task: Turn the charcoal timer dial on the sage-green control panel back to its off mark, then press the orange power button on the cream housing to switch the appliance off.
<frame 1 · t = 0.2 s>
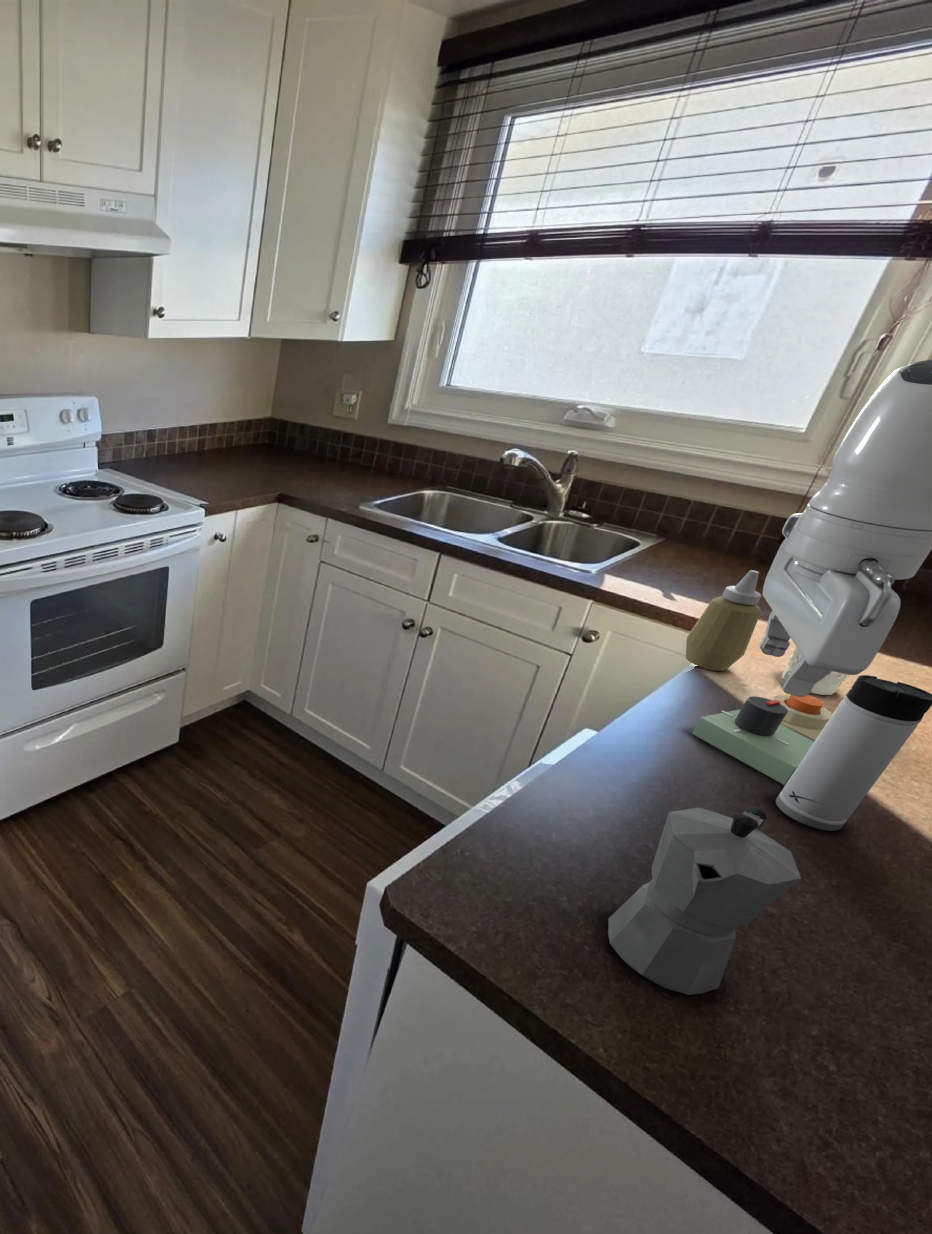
hand: (780, 671, 69), 24 cm above the worktop, tool pointing down, fingers open, 8 cm apart
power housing: (796, 731, 103), on the worktop
white cup: (806, 686, 116), on the worktop
power button: (804, 704, 102), point 4 cm above the worktop, slide at 0.1 cm
dial panel: (758, 752, 98), on the worktop
squeeze bottle: (704, 664, 122), on the worktop
timer dial: (761, 715, 97), point 5 cm above the worktop, hinge at -90.0°
travel mug: (806, 816, 86), on the worktop
coffeepot: (662, 949, 68), on the worktop
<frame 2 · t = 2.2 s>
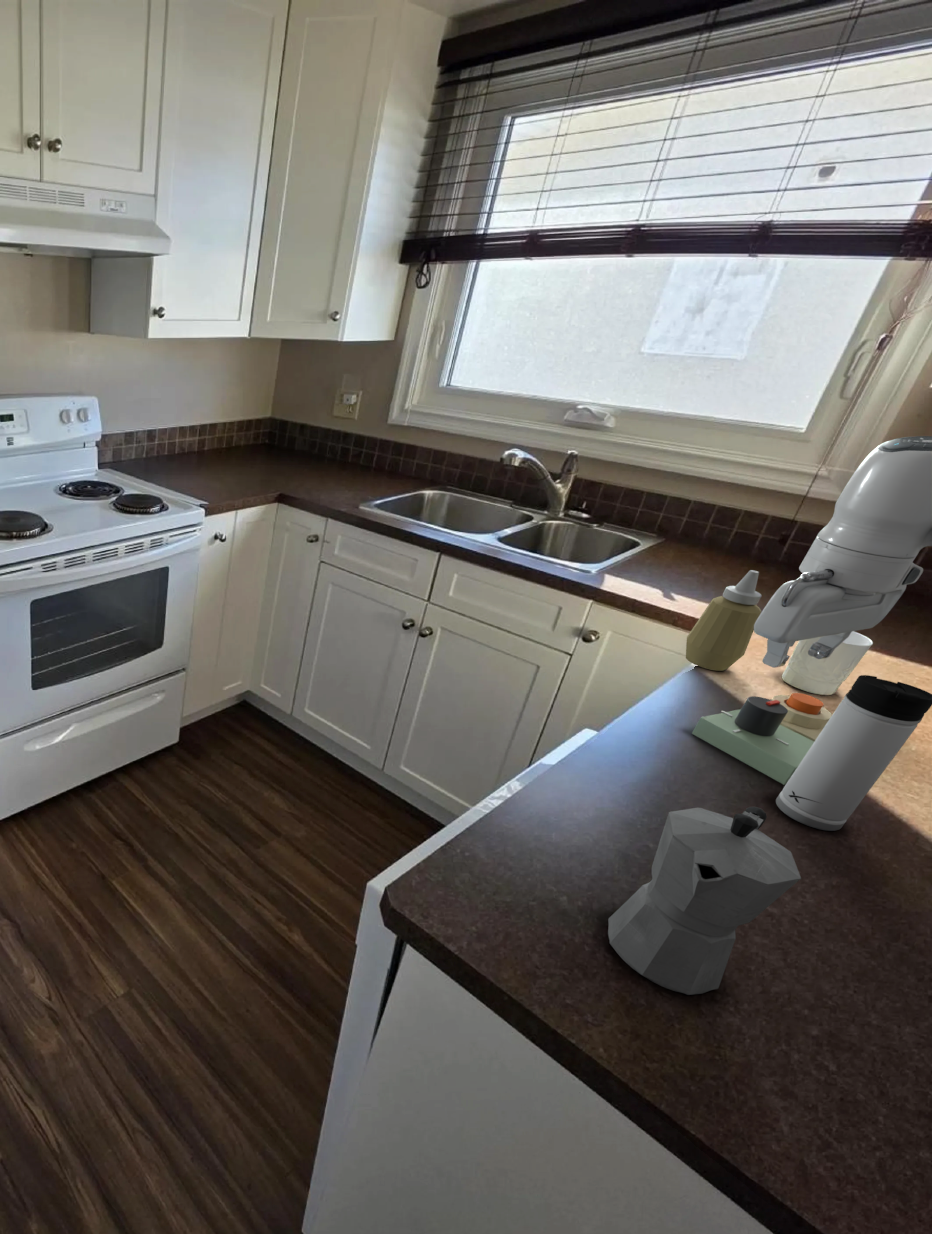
hand: (794, 660, 92), 15 cm above the worktop, tool pointing down, fingers open, 8 cm apart
nothing on the worktop moved.
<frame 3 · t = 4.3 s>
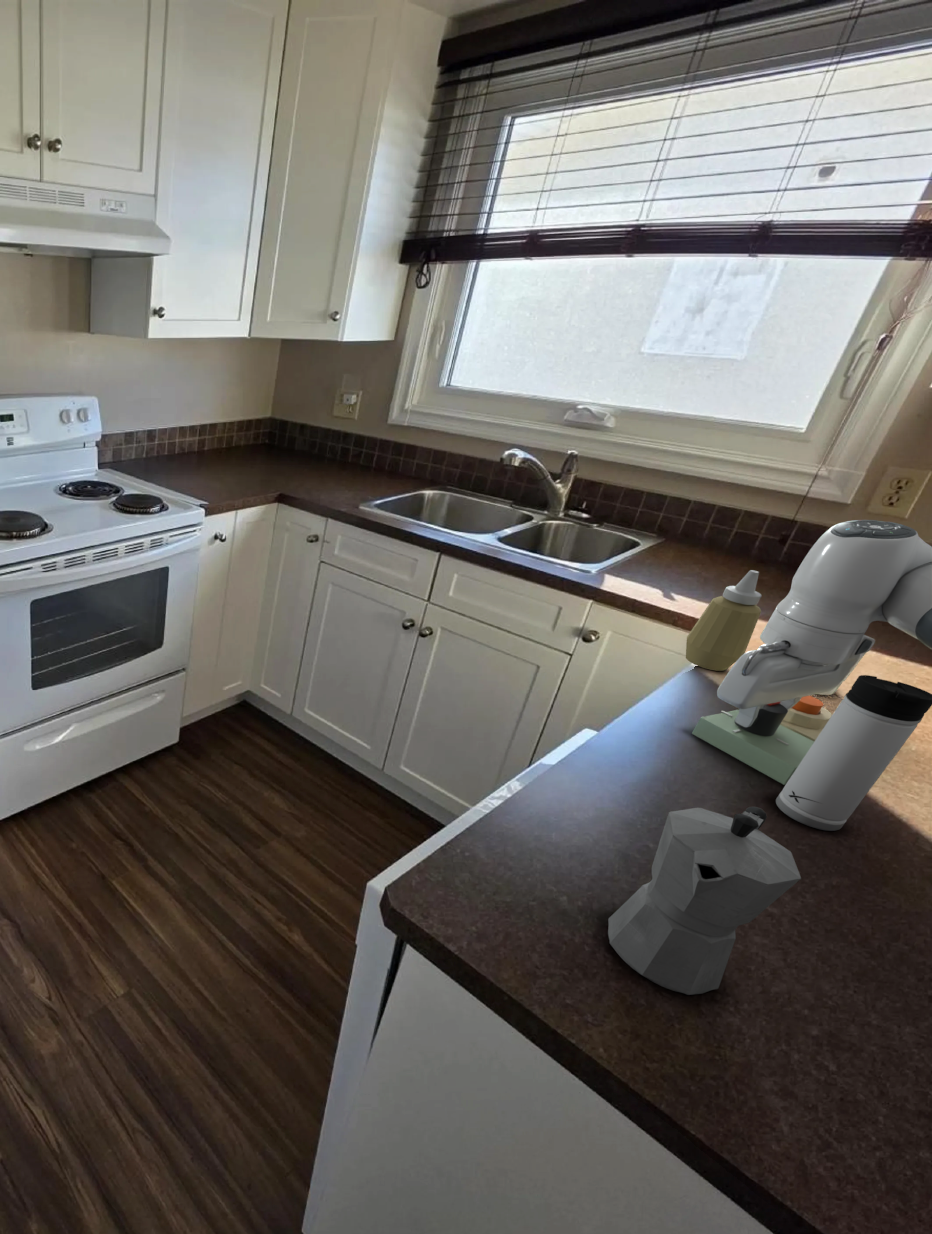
hand: (757, 721, 98), 4 cm above the worktop, tool pointing down, fingers closed on timer dial, 4 cm apart
timer dial: (761, 715, 97), point 5 cm above the worktop, hinge at -90.0°, touching gripper
everything else where it was.
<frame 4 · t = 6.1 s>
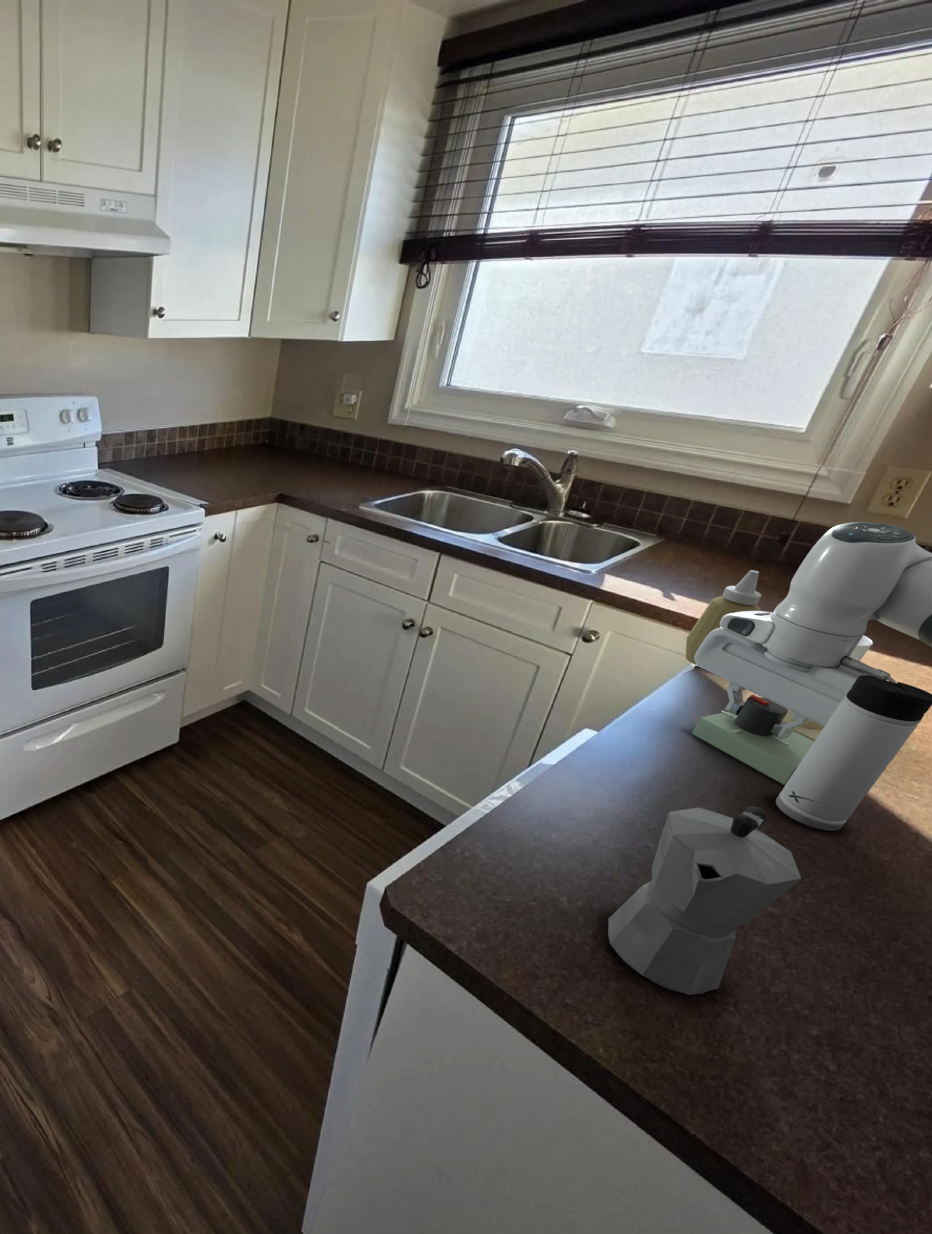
hand: (755, 723, 98), 4 cm above the worktop, tool pointing down, fingers closed on timer dial, 4 cm apart
timer dial: (761, 715, 97), point 5 cm above the worktop, hinge at -3.3°, touching gripper
everything else where it was.
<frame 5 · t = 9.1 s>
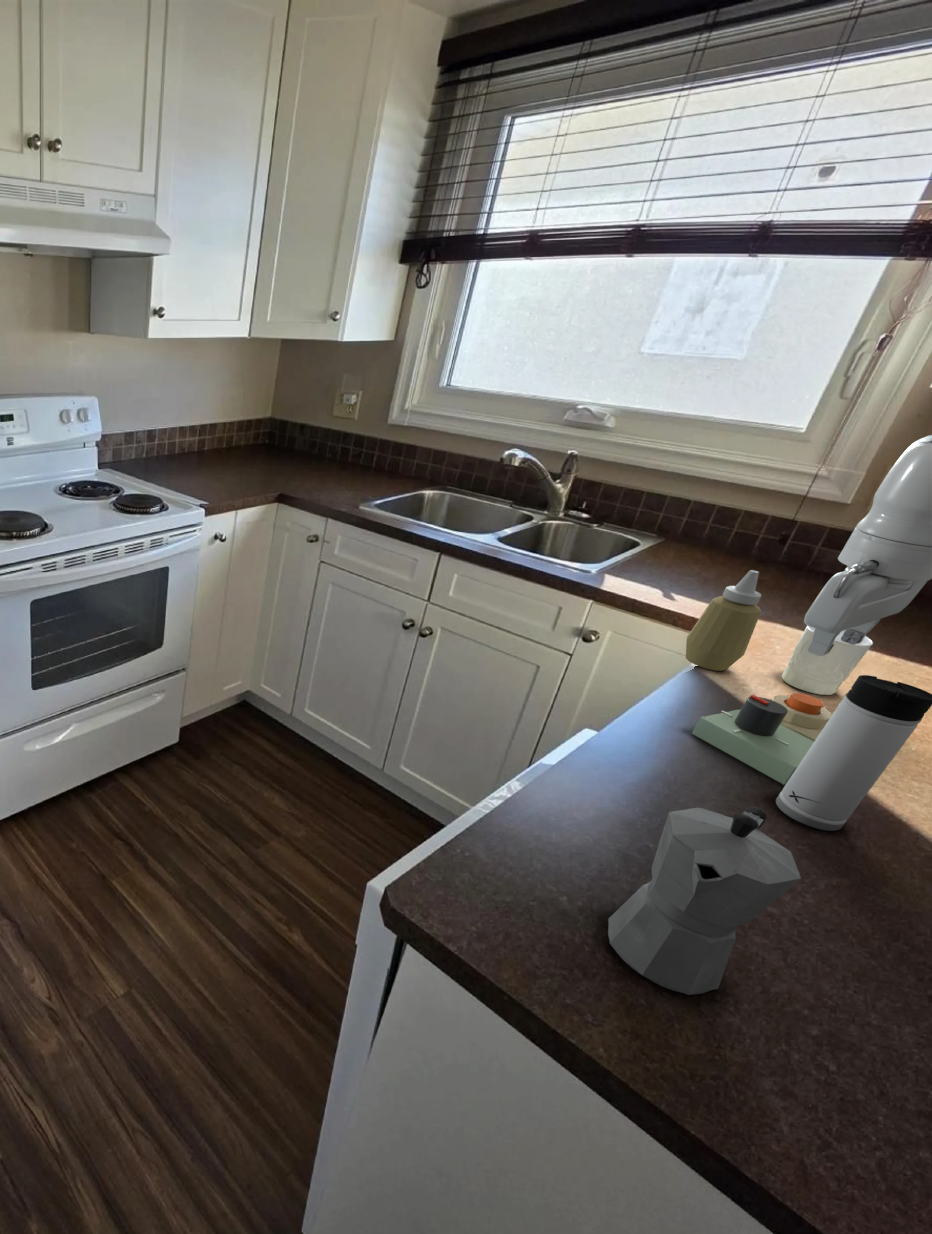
hand: (833, 647, 96), 15 cm above the worktop, tool pointing down, fingers open, 8 cm apart
timer dial: (761, 715, 97), point 5 cm above the worktop, hinge at -3.0°
everything else where it was.
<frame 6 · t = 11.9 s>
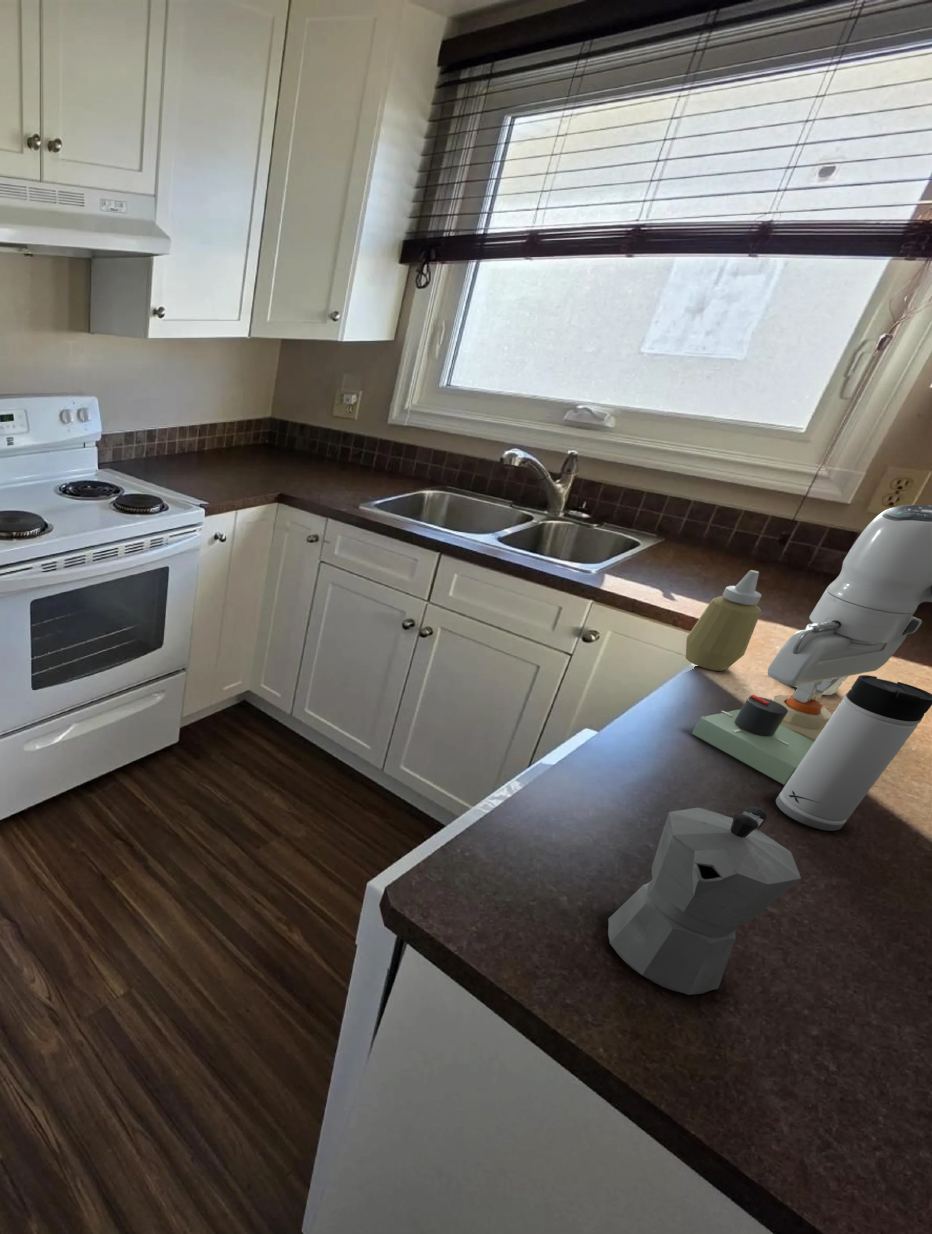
hand: (804, 699, 102), 5 cm above the worktop, tool pointing down, fingers closed, pressing on power button
power button: (803, 705, 102), point 4 cm above the worktop, slide at -0.2 cm, touching gripper
everything else where it was.
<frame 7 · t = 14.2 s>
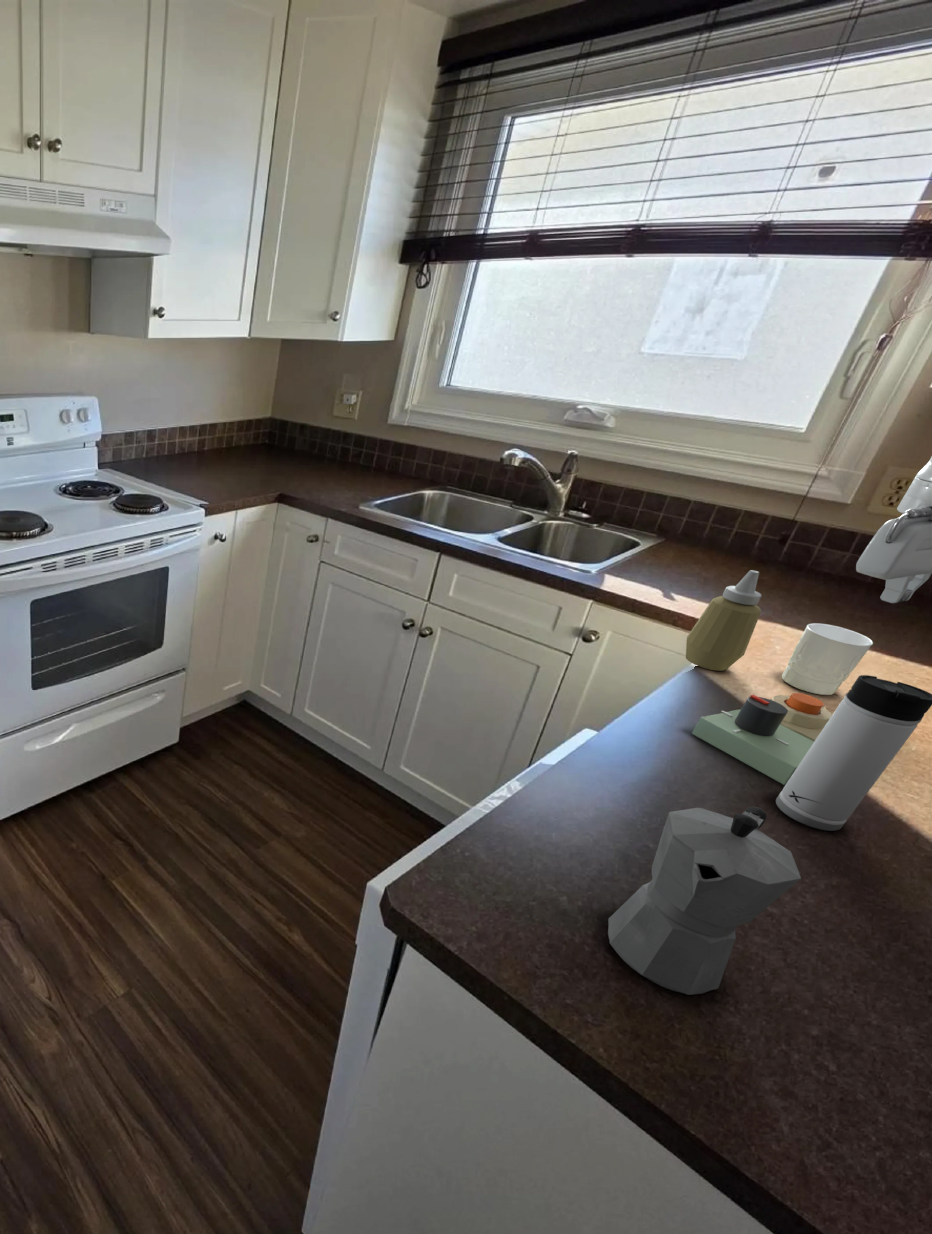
hand: (893, 600, 95), 21 cm above the worktop, tool pointing down, fingers closed
power button: (804, 704, 102), point 4 cm above the worktop, slide at 0.1 cm
everything else where it was.
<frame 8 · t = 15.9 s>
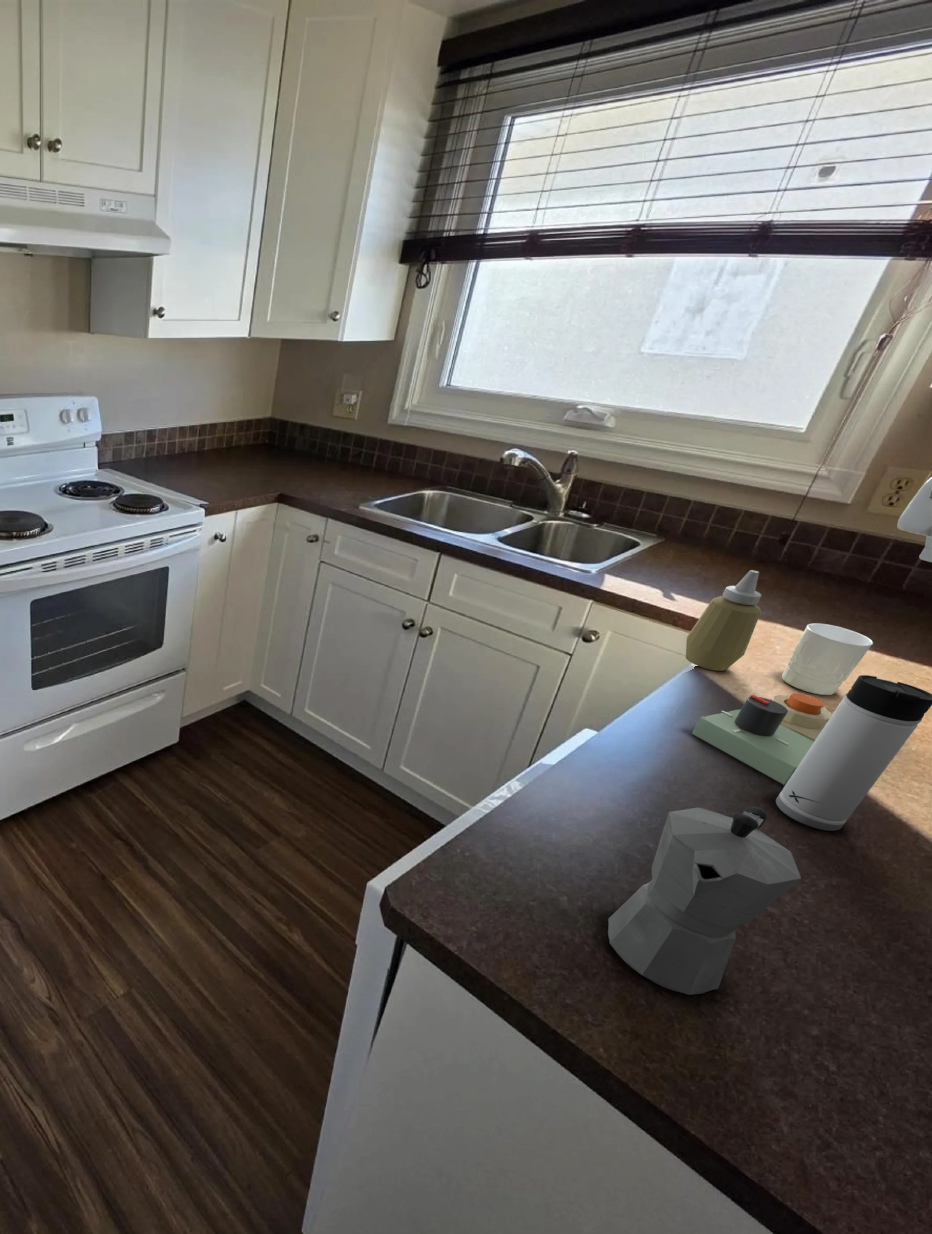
nothing on the worktop moved.
at the end: timer dial at -3° (first picture: -90°); power button pushed in 1.1 cm at the most during the clip, back to where it started at the end; power button slide at 0.1 cm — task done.
